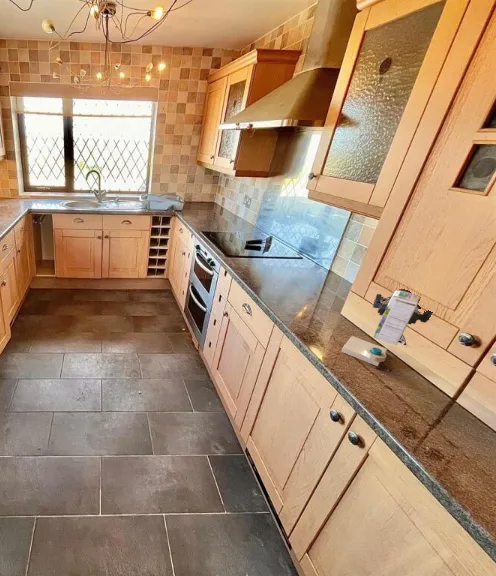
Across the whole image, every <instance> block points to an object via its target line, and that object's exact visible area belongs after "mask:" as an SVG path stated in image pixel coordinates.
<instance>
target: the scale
mask: <svg viewBox="0 0 496 576" xmlns="http://www.w3.org/2000/svg"><path fill="white" fill-rule="evenodd" d="M374 347H375V348H379V349H381V350H382V352H381V355H380V356H378V355H374V354H372V353H371V351H372V348H374ZM387 350H388V348H386V347H383V346H380V345H379V344H376V343H372V342H370V341H367V340H364V339H362V338H359V337H356V336H354V335H351V336H350V338H349V339H348V340H347V342H346V343H345V344H344V345H343V346H342V348H341V351H340V352H341V353H343V354H345V355H349V356H351V357H353V358H356V359H358V360H361V361H362V362H366V363H369V364H371V365H373V366H375V367H378V366H379V365H380V363H382V362H385V361H386V359H387V354H386V353H387Z"/></svg>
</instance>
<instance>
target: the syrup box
mask: <svg viewBox="0 0 496 576" xmlns="http://www.w3.org/2000/svg"><path fill="white" fill-rule="evenodd" d="M395 290H396V289H395ZM395 290H394V291H395ZM393 293H394V292H393ZM393 293H392V294H393ZM390 297H391V296H390ZM420 298H421V297H420V296H418V295H415V294H412V293H408V292H404V291H398V290H396V291H395V293H394V294H393V296H392V297H391V299H390V301H389V303H388V306H387V308H386V310H385V312H384V314H383V315H381V318H380V320H379V323H378V325H377V327H376V329H375V331H374V333H373V335H372V337H373V338H374V339H376V340H381V341H383V342H385V343H389V344H392V345H396V346H397V345H398V343H399V342H400V340H401V338H402V336H403V334H404V332H405V330H406V329H407V326H408V325H409V324H408V322H409V320H410V318H411V316H412V315H413V313H414V311H415V309H416V307H417V305H418V303H419V301H420Z"/></svg>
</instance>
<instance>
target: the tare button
mask: <svg viewBox="0 0 496 576" xmlns="http://www.w3.org/2000/svg"><path fill="white" fill-rule="evenodd" d="M381 352H382V350H381V349H379V348H375V347H374V348H372V351H371V353H372V354H374V355H378V356H380V355H381Z"/></svg>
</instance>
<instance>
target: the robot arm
mask: <svg viewBox="0 0 496 576" xmlns="http://www.w3.org/2000/svg"><path fill="white" fill-rule="evenodd" d="M398 291H404V292H408V293H411V292H410V291H408V290H405V289H399V290H398ZM394 293H395V292H394V291H393V293H392V294H391V295H390V296H388V297H384V296H383V295H382V294H381V293H376V295H375V298H374V300H373V303H372V308H373V309H377V313H378V315H379V316H383V314H384V312H385V310H386V308H387V306H388V303H389V301H390V299H391V297H392V296H393V294H394ZM418 309H421V307H420V306H419V305H417V307H416V309H415V311H414V313H413V315H412V316H411V318H410V320H409V322H408V324H407V325H412V324H413V325H415V324H416V323H417V321H420V322H421V323H423V324H424V323H427V322H428V321H430V319H429V318H430V317H431V315H432V313H433V312H431V311H429V310H428V311H426V312H425V311H424V313H422V312H419V311H418Z"/></svg>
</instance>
